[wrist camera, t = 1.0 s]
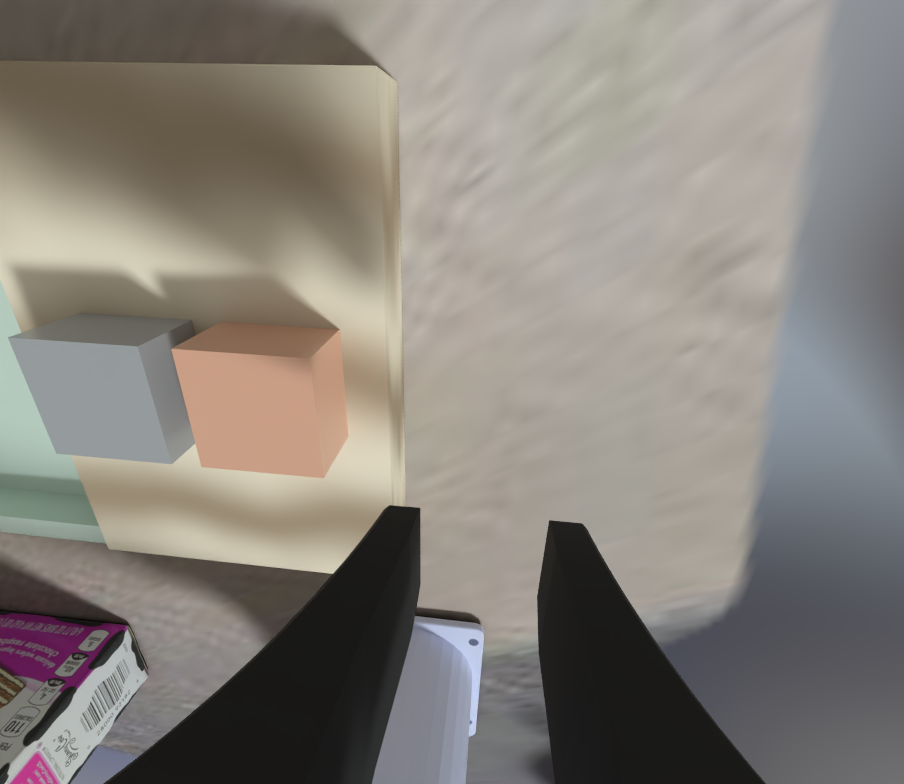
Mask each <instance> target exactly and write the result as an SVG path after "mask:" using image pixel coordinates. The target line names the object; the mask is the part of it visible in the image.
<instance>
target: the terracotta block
mask: <svg viewBox="0 0 904 784" xmlns="http://www.w3.org/2000/svg"><path fill="white" fill-rule="evenodd" d="M171 350H172V354H173V358H174V362H175V366H176V370H177V374H178V378H179V382H180V385H181V389H182V393H183V397H184V401H185V405H186V409H187V413H188V417H189V421H190V424H191V428H192V432H193V436H194V440H195V444H196V448H197V452H198V456H199V460H200V463H201V467H206V468H217V469H228V470H239V471H250V472H260V473H271V474H282V475H293V476H304V477H315V478H324V477H325V475H326V474H327V472H328V470H329V469H330V467H331V465H332V463H333V462H334V460H335V458H336V457H337V455H338V453H339V452H340V450H341V448H342V447H343V445H344V443H345V441H346V440H347V438H348V436H349V435H348V423H347V411H346V399H345V387H344V375H343V362H342V350H341V338H340V329H325V328H309V327H294V326H278V325H262V324H246V323H231V322H220V323H218V324H216V325H214V326H212V327H211V328H209V329H207V330H205V331H203V332H201V333H199V334H198V335H196V336H194V337H192V338H190V339H188V340H187V341H185V342H183V343H181V344H179V345H177V346H175V347H174V348H172V349H171Z"/></svg>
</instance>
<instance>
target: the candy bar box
mask: <svg viewBox="0 0 904 784" xmlns="http://www.w3.org/2000/svg"><path fill="white" fill-rule="evenodd" d="M148 675H149V673H148V670H147V667H146V665H145V663H144V660H143V658H142V656H141V653H140V651H139V648H138V645H137V643H136V640H135V637H134V635H133V633H132V631H131V630H130V628H129V626H127V625H120V624H111V623H101V622H93V621H85V620H76V619H68V618H59V617H50V616H41V615H32V614H23V613H15V612H7V611H0V784H70V783H71V782H72V780H73V779H74V778H75V777H76V775H77V774H78V772H79V771H80V770H81V768H82V767H83V765H84V764H85V762H86V761H87V760H88V758H89V757H90V756H91V754H92V753H93V751H94V750H95V749H96V747H97V746H98V745H99V743H100V742H101V741H102V739H103V738H104V737H105V735H106V734H107V733H108V731H109V730H110V728H111V727H112V725H113V724H114V722H115V721H116V720H117V719H118V717H119V716H120V715H121V713H122V712H123V710H124V709H125V708H126V706H127V705H128V704H129V702H130V701H131V699H132V698H133V697H134V695H135V694H136V692H137V691H138V690H139V688H140V687H141V685H142V684H143V683H144V681H145V680H146V679H147V677H148Z"/></svg>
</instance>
